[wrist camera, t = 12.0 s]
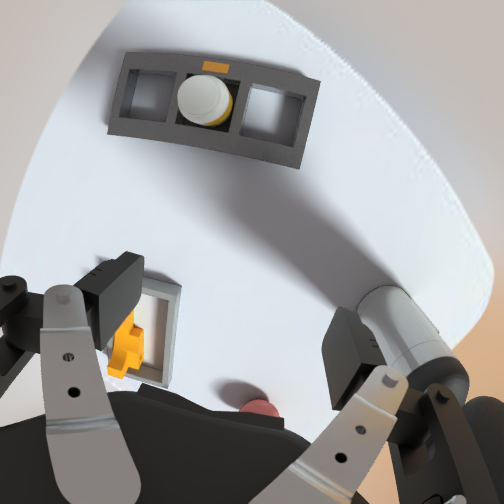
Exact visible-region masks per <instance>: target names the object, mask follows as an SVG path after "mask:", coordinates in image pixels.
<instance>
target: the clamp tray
mask: <svg viewBox="0 0 504 504" xmlns="http://www.w3.org/2000/svg"><path fill="white" fill-rule="evenodd" d="M181 288H182V286H179V285H175V284H171V283H167V282H163V281H159V280H155V279H151V278H147V277H143V281H142V292H141V293H142V294H146V295H149V296H153V297H157V298H161V299H165V300H169V304H168V313H167V324H166V335H165V348H164V362H163V371H160V370H157V369H153V368H150V367H146V366H143V365H140V367H139V369H135V368H131V367H129V368H128V369H127V371H126V373H125V375H124V376H126V377H129V378H132V379H135V380H138V381H142V382H145V383H149V384H152V385H156V386H159V387H163V388H166V389H168V386H169V383H170V381H171V378H172V367H173V356H174V346H175V337H176V328H177V319H178V311H179V303H180V295H181ZM114 340H115V334H114V335H113V336H112V338H111V339H110V340H109V342H108V343H107V354H108V364H109V361H110V359H111V356H112V352H113V348H114Z"/></svg>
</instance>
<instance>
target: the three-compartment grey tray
mask: <svg viewBox="0 0 504 504" xmlns="http://www.w3.org/2000/svg"><path fill="white" fill-rule="evenodd" d="M138 74H155V75H168V76H176V79H175V83H174V87H173V91H172V96H171V100H170V104H169V108H168V113H167V117H166V122H157V121H149V120H140V119H131V118H129V113H130V108H131V103H132V99H133V94H134V90H135V86H136V82H137V78H138ZM196 75H210V76H214V77H216V78H218V79H220V80H221V81H222V82H223V83H229V84H235V85H240V86H239V90H238V94H237V98H236V103H235V107H234V111H233V115H232V119H231V124H230V128H229V132H228V133H226V132H221V131H215V130H210V129H204V128H198V127H192V126H186V125H182V120H183V114H182V113H181V111H180V109H179V106H178V98H177V95H178V90H179V88H180V86H181V85H182V83H183V82H184V81H185V80H187V79H188V78H190V77H192V76H196ZM320 83H321V81H318V80H315V79H311V78H308V77H304V76H300V75H297V74H293V73H289V72H285V71H280V70H276V69H271V68H267V67H262V66H257V65H252V64H247V63H241V62H235V61H229V60H222V59H215V58H208V57H199V56H190V55H178V54H164V53H139V52H126V54H125V58H124V61H123V65H122V69H121V72H120V76H119V80H118V84H117V88H116V93H115V97H114V102H113V106H112V111H111V116H110V122H109V127H108V133H107V134H108V135H117V136H126V137H134V138H142V139H149V140H156V141H163V142H169V143H176V144H182V145H188V146H193V147H199V148H204V149H210V150H215V151H220V152H225V153H230V154H235V155H240V156H244V157H249V158H253V159H258V160H262V161H266V162H271V163H275V164H279V165H283V166H287V167H291V168H295V169H300V165H301V161H302V157H303V153H304V149H305V145H306V141H307V137H308V133H309V129H310V125H311V121H312V116H313V112H314V108H315V104H316V100H317V95H318V91H319V87H320ZM252 88H256V89H261V90H265V91H270V92H274V93H278V94H283V95H287V96H291V97H295V98H298V99H302V100H303V102H302V106H301V110H300V114H299V118H298V122H297V127H296V131H295V135H294V139H293V143H292V147H288V146H284V145H280V144H276V143H272V142H268V141H264V140H259V139H255V138H250V137H245V136H241V131H242V127H243V123H244V119H245V114H246V110H247V106H248V102H249V98H250V94H251V90H252Z"/></svg>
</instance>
